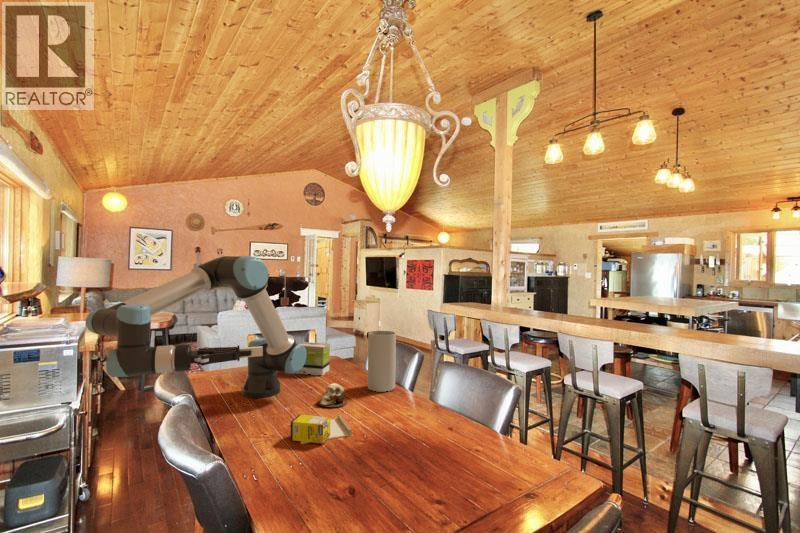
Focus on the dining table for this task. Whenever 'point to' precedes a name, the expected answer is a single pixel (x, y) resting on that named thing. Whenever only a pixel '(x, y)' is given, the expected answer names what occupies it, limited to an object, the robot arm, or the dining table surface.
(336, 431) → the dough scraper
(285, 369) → the robot arm
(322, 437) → the supplement box
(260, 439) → the dining table surface
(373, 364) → the cylinder vase
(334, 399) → the skull
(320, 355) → the tea box
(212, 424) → the dining table surface
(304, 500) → the dining table surface
